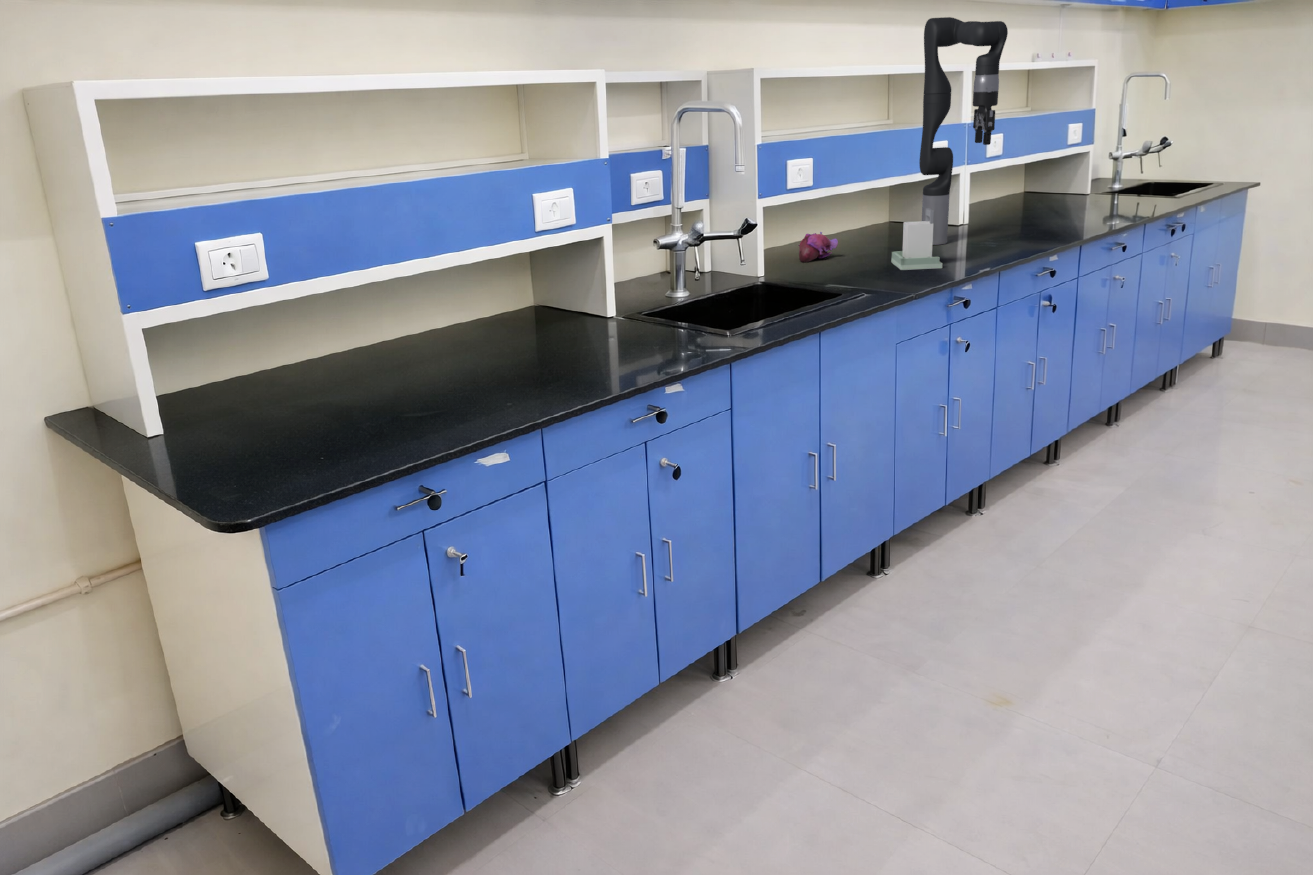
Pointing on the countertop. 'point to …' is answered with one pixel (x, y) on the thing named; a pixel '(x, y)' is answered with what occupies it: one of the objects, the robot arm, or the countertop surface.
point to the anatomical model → (815, 247)
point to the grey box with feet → (918, 237)
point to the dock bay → (915, 262)
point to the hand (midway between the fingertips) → (982, 143)
